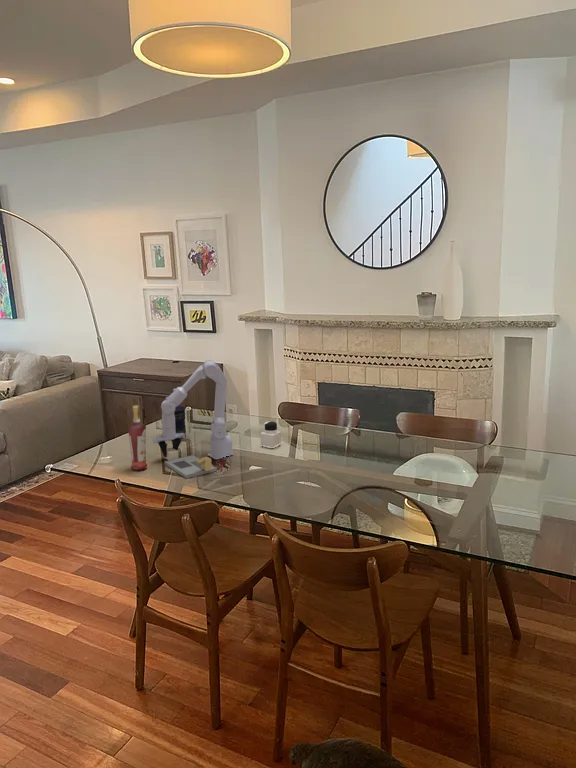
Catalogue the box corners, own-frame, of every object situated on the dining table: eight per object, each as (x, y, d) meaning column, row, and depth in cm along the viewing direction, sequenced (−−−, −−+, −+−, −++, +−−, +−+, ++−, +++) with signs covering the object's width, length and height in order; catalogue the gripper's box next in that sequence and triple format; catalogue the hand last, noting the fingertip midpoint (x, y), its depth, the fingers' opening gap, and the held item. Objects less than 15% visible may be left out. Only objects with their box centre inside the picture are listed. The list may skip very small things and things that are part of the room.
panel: (193, 458, 268) (193, 455, 267) (215, 471, 252) (215, 467, 252) (164, 464, 260) (164, 461, 259) (186, 478, 244) (186, 475, 244)
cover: (171, 454, 270) (171, 445, 269) (178, 458, 264) (178, 450, 263) (162, 456, 267) (162, 447, 266) (169, 460, 262) (169, 452, 261)
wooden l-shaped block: (207, 467, 252) (207, 456, 251) (211, 469, 250) (211, 458, 249) (195, 470, 249) (194, 459, 248) (199, 472, 246) (198, 461, 245)
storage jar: (184, 440, 293) (183, 411, 290) (164, 439, 293) (163, 410, 290) (187, 434, 303) (186, 405, 300) (168, 433, 303) (167, 405, 300)
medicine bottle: (280, 445, 286) (280, 421, 283) (272, 449, 280) (272, 425, 277) (268, 443, 289) (268, 419, 287) (260, 447, 284) (260, 423, 281)
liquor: (143, 472, 250) (140, 408, 244) (127, 471, 252) (123, 407, 246) (150, 466, 257) (147, 404, 251) (135, 465, 259) (131, 403, 253)
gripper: (179, 421, 270) (180, 450, 273) (149, 427, 262) (151, 456, 265) (186, 425, 265) (187, 454, 268) (156, 431, 256) (158, 460, 259)
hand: (170, 455), depth 266 cm, fingers closed on cover, 4 cm apart
